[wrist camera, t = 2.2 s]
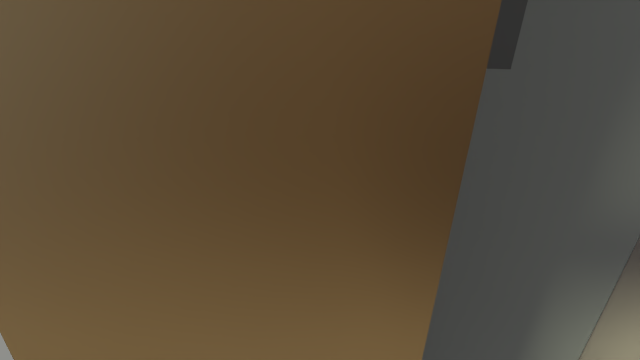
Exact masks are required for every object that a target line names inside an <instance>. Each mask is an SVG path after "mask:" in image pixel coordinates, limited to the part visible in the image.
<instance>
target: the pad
mask: <svg viewBox="0 0 640 360" xmlns="http://www.w3.org/2000/svg"><path fill="white" fill-rule="evenodd" d="M639 237H640V0H528V2H527V6H526V10H525V14H524V18H523V22H522V26H521V30H520V34H519V38H518V42H517V46H516V50H515V54H514V58H513V62H512V66H511V69H486V73H485V78H484V82H483V87H482V91H481V96H480V100H479V105H478V109H477V114H476V118H475V123H474V127H473V132H472V136H471V141H470V145H469V150H468V154H467V159H466V163H465V168H464V172H463V177H462V181H461V186H460V190H459V195H458V199H457V204H456V208H455V213H454V217H453V222H452V226H451V231H450V235H449V240H448V244H447V249H446V253H445V258H444V262H443V267H442V271H441V276H440V280H439V285H438V289H437V294H436V298H435V303H434V307H433V312H432V316H431V321H430V325H429V330H428V334H427V339H426V343H425V348H424V352H423V357H422V360H578V359H579V357H580V355H581V353H582V351H583V349H584V347H585V345H586V343H587V341H588V339H589V337H590V335H591V333H592V331H593V329H594V327H595V325H596V323H597V321H598V319H599V317H600V315H601V313H602V311H603V309H604V307H605V305H606V303H607V301H608V299H609V297H610V295H611V293H612V291H613V289H614V287H615V285H616V283H617V281H618V279H619V277H620V275H621V273H622V271H623V269H624V267H625V265H626V263H627V261H628V259H629V257H630V255H631V253H632V251H633V249H634V247H635V245H636V243H637V241H638V239H639Z"/></svg>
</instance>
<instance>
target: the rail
mask: <svg viewBox="0 0 640 360" xmlns="http://www.w3.org/2000/svg"><path fill="white" fill-rule="evenodd" d="M501 1H502V0H0V333H1V335H2V337H3V339H4V341H5V343H6V345H7V347H8V349H9V351H10V353H11V355H12V357H13V359H14V360H422V357H423V352H424V348H425V343H426V339H427V334H428V330H429V325H430V321H431V316H432V312H433V307H434V303H435V298H436V294H437V289H438V285H439V280H440V276H441V271H442V267H443V262H444V258H445V253H446V249H447V244H448V240H449V235H450V231H451V226H452V222H453V217H454V213H455V208H456V204H457V199H458V195H459V190H460V186H461V181H462V177H463V172H464V168H465V163H466V159H467V154H468V150H469V145H470V141H471V136H472V132H473V127H474V123H475V118H476V114H477V109H478V105H479V100H480V96H481V91H482V87H483V82H484V78H485V73H486V69H487V64H488V60H489V55H490V51H491V46H492V42H493V37H494V33H495V28H496V24H497V19H498V15H499V10H500V6H501Z"/></svg>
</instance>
